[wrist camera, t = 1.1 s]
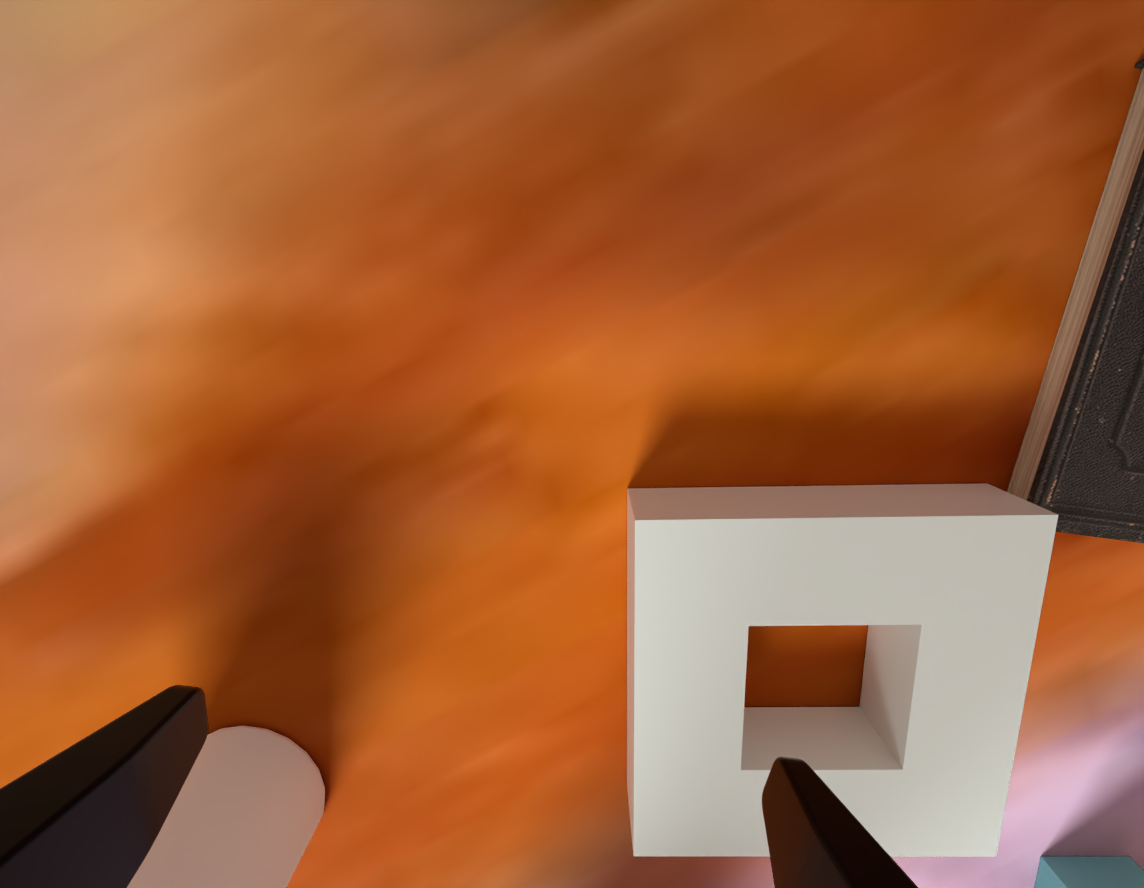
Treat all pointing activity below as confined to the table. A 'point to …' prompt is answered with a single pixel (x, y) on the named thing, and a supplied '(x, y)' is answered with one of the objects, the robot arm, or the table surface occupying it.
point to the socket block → (831, 597)
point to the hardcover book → (1097, 370)
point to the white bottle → (238, 815)
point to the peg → (1089, 872)
